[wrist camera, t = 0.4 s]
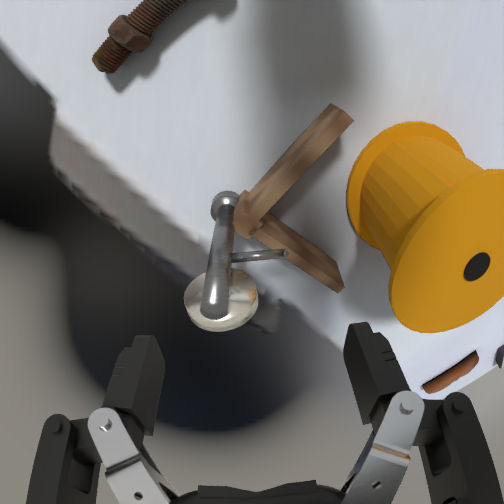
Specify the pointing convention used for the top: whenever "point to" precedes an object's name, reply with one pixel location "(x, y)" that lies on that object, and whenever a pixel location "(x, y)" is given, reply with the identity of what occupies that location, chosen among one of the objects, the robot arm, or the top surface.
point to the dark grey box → (500, 357)
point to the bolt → (132, 33)
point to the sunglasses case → (452, 374)
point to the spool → (430, 225)
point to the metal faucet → (225, 275)
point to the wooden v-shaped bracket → (277, 183)
